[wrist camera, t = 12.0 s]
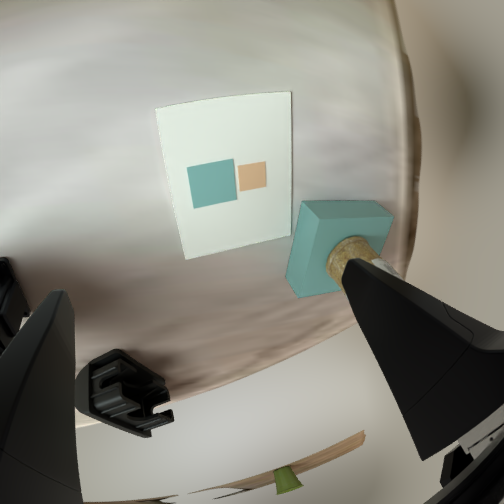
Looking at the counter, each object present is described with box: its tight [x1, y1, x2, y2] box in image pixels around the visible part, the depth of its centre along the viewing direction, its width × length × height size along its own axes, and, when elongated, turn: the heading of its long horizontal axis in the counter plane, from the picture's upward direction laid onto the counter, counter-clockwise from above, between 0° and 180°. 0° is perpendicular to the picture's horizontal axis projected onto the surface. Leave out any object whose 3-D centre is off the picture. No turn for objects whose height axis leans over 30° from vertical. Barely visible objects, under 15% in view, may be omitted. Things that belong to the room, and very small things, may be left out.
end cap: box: [75, 349, 174, 438], centre depth 28 cm, size 10×7×7 cm
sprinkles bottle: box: [326, 236, 404, 301], centre depth 20 cm, size 5×5×14 cm
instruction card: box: [155, 91, 291, 260], centre depth 21 cm, size 9×12×1 cm
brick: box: [285, 201, 394, 298], centre depth 26 cm, size 8×8×3 cm
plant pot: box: [274, 466, 303, 495], centre depth 94 cm, size 12×12×11 cm
